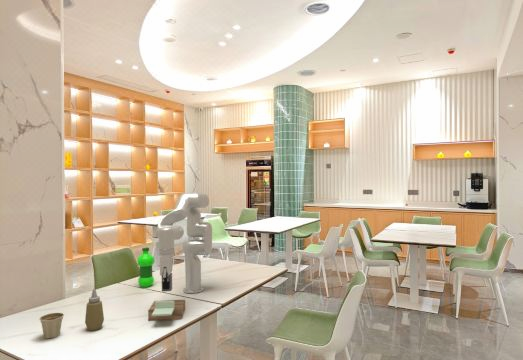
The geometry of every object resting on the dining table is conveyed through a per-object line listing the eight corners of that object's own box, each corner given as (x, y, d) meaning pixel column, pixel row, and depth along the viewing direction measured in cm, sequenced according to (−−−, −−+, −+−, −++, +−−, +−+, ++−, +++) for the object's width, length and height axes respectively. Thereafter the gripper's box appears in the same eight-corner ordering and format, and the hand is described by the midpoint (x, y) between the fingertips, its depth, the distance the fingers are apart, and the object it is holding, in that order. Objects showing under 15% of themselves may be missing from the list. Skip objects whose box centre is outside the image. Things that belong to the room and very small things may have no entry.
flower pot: (68, 331, 161) (68, 312, 161) (57, 340, 152) (56, 320, 152) (47, 331, 161) (47, 312, 161) (34, 340, 151) (34, 320, 151)
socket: (154, 310, 186) (154, 300, 186) (185, 308, 187) (185, 299, 187) (148, 320, 172) (148, 310, 172) (181, 319, 173) (181, 308, 173)
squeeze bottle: (83, 333, 159) (82, 293, 159) (87, 326, 166) (86, 287, 167) (102, 330, 161) (102, 291, 161) (105, 323, 169) (105, 286, 169)
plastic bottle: (156, 284, 235) (156, 246, 235) (150, 288, 224) (149, 249, 225) (142, 283, 236) (141, 246, 236) (135, 288, 225) (134, 249, 226)
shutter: (155, 309, 173) (155, 301, 173) (174, 308, 173) (174, 300, 173) (151, 316, 164) (151, 308, 164) (171, 315, 164) (171, 307, 164)
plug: (163, 288, 181) (163, 273, 181) (172, 288, 182) (172, 273, 182) (161, 291, 177) (161, 275, 177) (170, 291, 177) (170, 275, 177)
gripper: (162, 249, 188) (162, 283, 187) (155, 255, 171) (156, 293, 171) (176, 248, 188) (177, 282, 188) (171, 254, 171) (171, 292, 171)
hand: (167, 287), depth 179 cm, fingers closed on plug, 4 cm apart
